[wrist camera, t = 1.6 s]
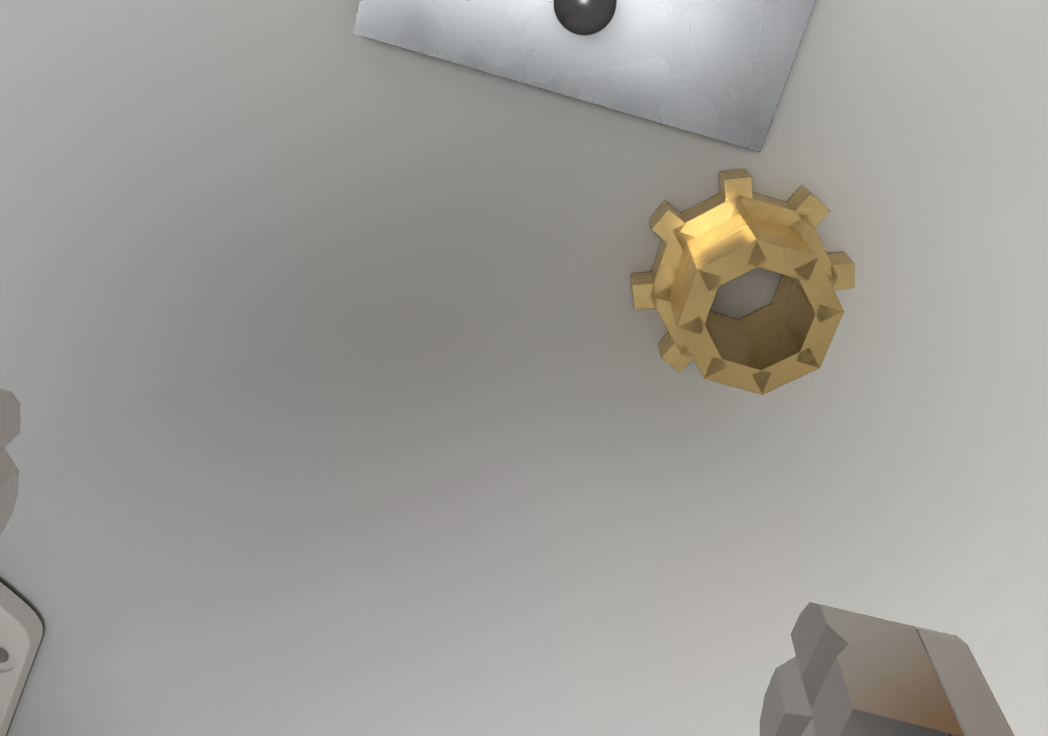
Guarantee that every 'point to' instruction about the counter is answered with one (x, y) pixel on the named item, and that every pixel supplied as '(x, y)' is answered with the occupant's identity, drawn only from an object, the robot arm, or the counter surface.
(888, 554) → the counter surface
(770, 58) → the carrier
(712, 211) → the gear
